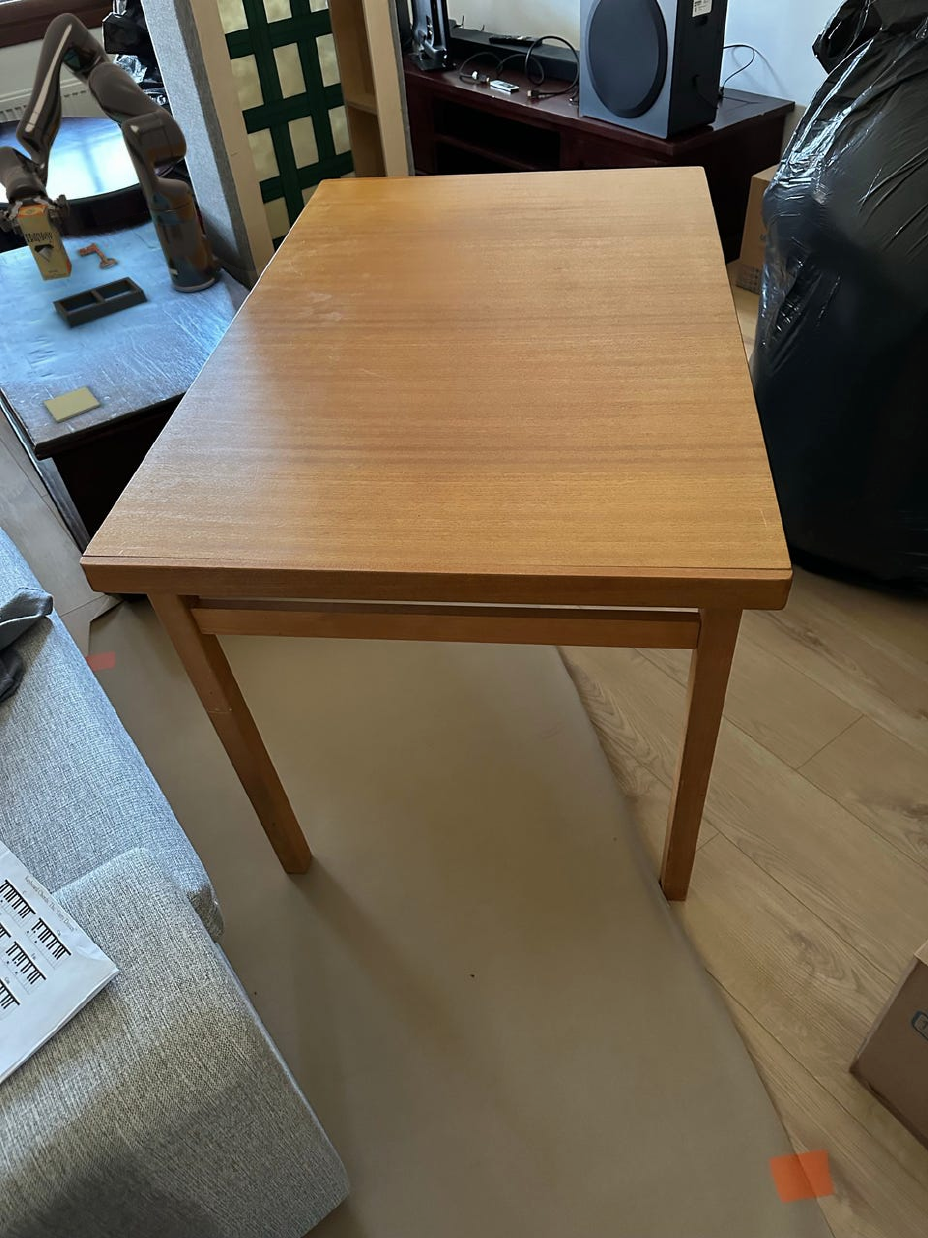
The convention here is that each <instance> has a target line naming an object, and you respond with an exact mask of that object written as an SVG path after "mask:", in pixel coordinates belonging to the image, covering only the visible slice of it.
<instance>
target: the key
mask: <svg viewBox="0 0 928 1238" xmlns="http://www.w3.org/2000/svg"><path fill="white" fill-rule="evenodd" d="M77 252H78V253H79V255H80V256H82V257H83V256H86V255H88V254H91V253H93V252H95V253H97V255H98V256H99V257H100V259H101V261H100V262H99V267H101V268H107V267H110V266H112V265H114V264H115V263H116V258H113V257H108V258H107V257H106V255H104V254H103V252H102V251H101V250H100V248H98V246H97V245H96V244H95V243H94V242H91V243H90V245H88V246H85V247H83V248H80V249H77Z"/></svg>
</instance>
